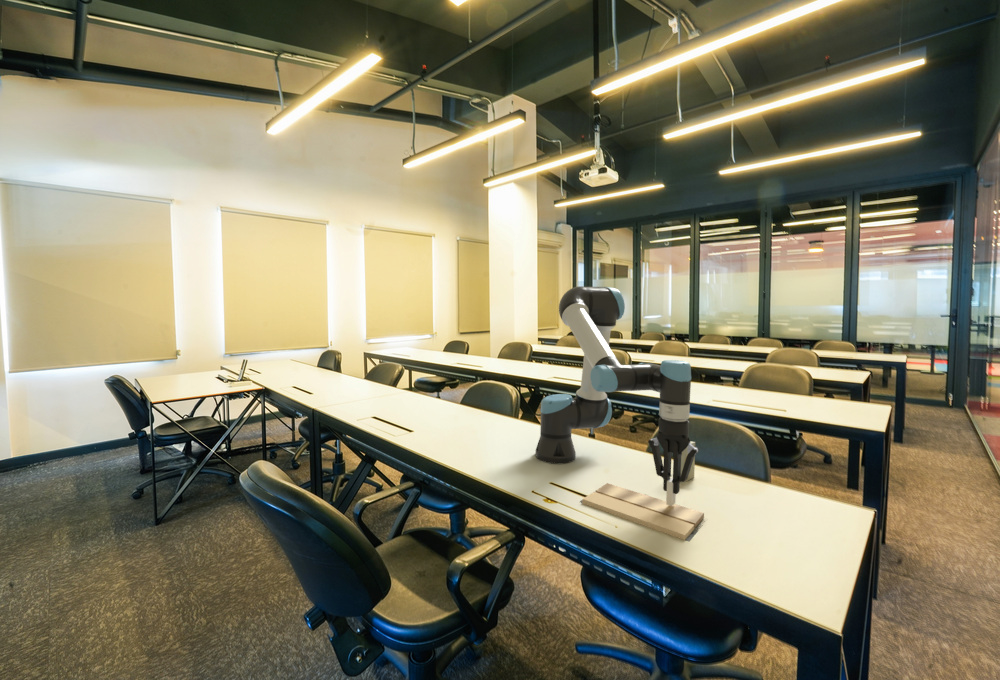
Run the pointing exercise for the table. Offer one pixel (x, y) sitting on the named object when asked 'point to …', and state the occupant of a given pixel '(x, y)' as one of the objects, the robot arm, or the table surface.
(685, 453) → the skincare box
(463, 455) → the table surface
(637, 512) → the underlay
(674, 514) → the plank
